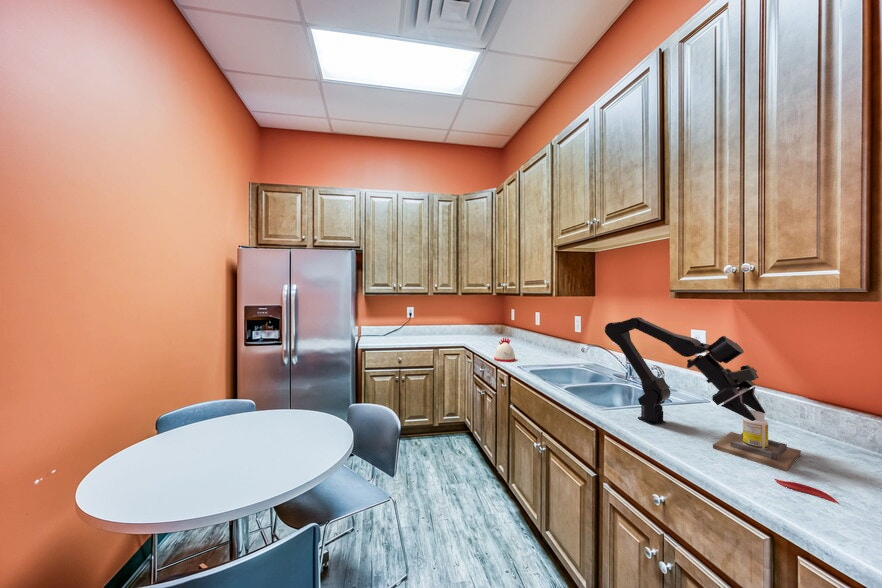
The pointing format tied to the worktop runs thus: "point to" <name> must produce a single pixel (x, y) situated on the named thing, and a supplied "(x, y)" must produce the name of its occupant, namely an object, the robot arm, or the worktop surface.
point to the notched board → (759, 451)
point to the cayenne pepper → (806, 489)
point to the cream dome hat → (504, 352)
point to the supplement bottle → (756, 431)
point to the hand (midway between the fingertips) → (759, 416)
